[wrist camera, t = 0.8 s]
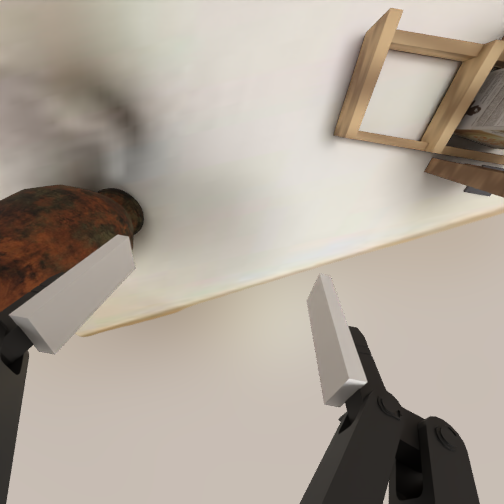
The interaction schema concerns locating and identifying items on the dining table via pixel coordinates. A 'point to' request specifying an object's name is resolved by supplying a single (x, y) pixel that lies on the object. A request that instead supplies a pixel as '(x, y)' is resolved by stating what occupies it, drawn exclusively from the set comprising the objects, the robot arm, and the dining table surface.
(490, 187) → the brown open upright frame
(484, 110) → the coffee box
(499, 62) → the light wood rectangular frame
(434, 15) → the dining table surface
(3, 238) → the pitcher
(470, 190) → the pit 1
